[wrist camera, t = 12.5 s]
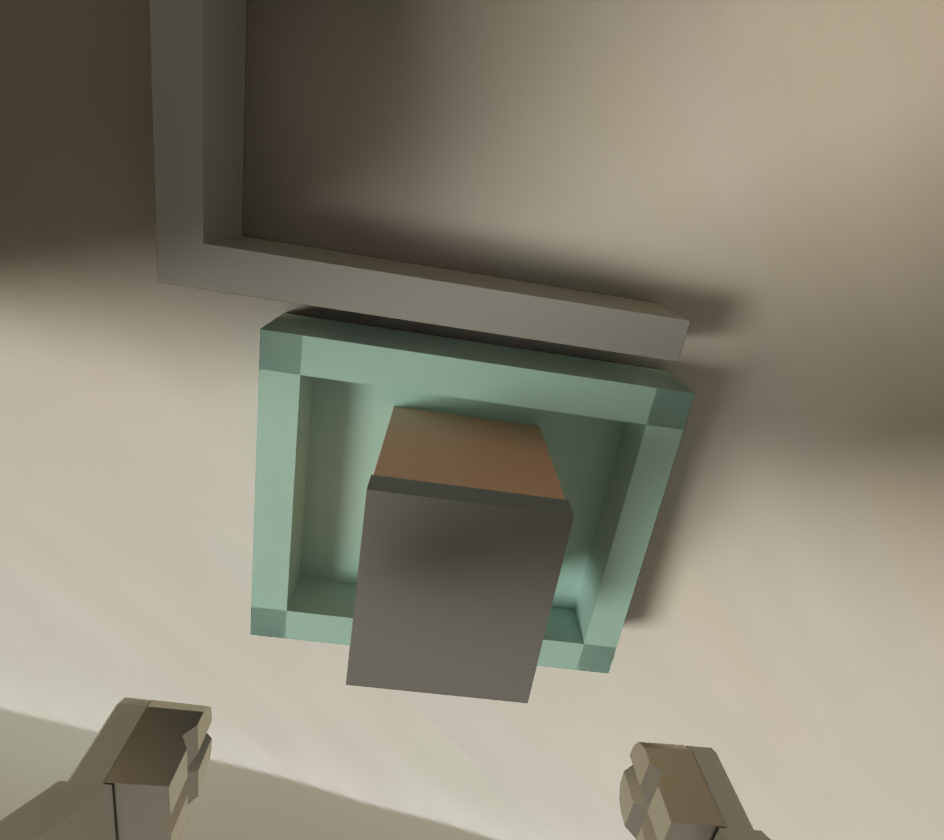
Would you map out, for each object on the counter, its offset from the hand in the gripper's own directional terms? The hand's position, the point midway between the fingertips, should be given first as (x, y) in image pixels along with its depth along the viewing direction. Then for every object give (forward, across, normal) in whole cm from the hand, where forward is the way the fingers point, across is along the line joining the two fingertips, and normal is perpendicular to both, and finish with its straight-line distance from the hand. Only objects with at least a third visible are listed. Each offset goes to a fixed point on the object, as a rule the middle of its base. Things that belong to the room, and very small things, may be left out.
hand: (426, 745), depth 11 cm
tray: (+11, -1, 0) cm, 11 cm away
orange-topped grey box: (+10, -1, 0) cm, 10 cm away
